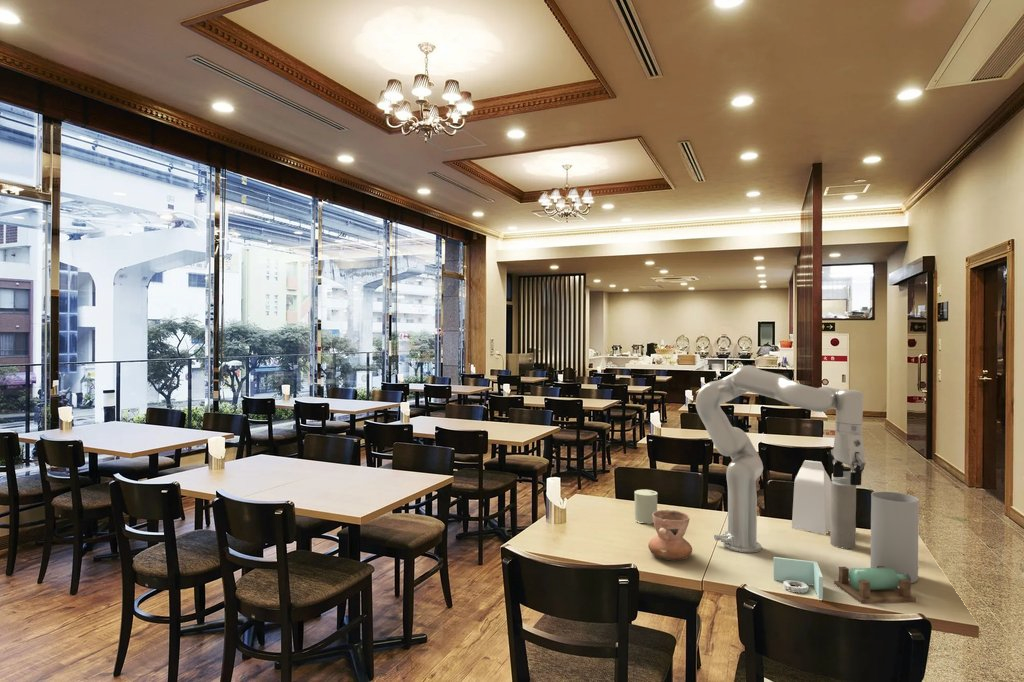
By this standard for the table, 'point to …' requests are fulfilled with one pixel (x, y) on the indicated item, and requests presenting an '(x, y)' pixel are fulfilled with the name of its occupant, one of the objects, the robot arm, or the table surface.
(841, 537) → the thermos bottle
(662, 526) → the ceramic jug
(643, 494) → the can
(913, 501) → the cylinder vase
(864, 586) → the rest
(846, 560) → the table surface
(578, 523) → the table surface
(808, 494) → the milk
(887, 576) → the bottle
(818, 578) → the right angle wall
